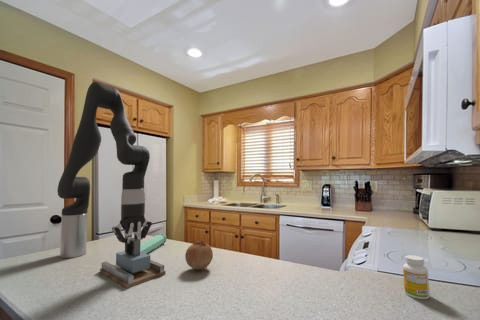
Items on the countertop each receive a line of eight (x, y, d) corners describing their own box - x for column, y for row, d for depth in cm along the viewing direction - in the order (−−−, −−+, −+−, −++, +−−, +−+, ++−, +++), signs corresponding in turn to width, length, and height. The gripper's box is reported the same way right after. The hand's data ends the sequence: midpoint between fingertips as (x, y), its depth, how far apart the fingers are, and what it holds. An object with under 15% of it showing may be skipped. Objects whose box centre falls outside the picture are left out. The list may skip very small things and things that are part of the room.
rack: (99, 271, 84) (100, 263, 84) (136, 261, 93) (136, 253, 94) (126, 288, 71) (126, 277, 71) (165, 274, 81) (165, 264, 81)
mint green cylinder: (135, 246, 94) (164, 230, 118) (122, 251, 94) (153, 235, 119) (140, 260, 93) (168, 242, 118) (127, 266, 94) (157, 246, 118)
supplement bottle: (410, 288, 68) (407, 253, 69) (433, 296, 63) (430, 258, 64) (400, 293, 65) (398, 256, 66) (424, 302, 60) (421, 262, 61)
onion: (217, 266, 87) (216, 238, 88) (205, 276, 78) (204, 245, 79) (194, 263, 90) (194, 236, 91) (179, 273, 81) (179, 242, 82)
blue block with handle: (115, 264, 84) (116, 238, 84) (132, 260, 88) (133, 235, 89) (132, 273, 76) (133, 244, 77) (150, 267, 81) (150, 240, 81)
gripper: (146, 200, 92) (145, 246, 90) (107, 203, 81) (106, 256, 80) (157, 201, 87) (156, 250, 85) (117, 204, 76) (116, 261, 75)
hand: (132, 252), depth 83 cm, fingers closed on blue block with handle
